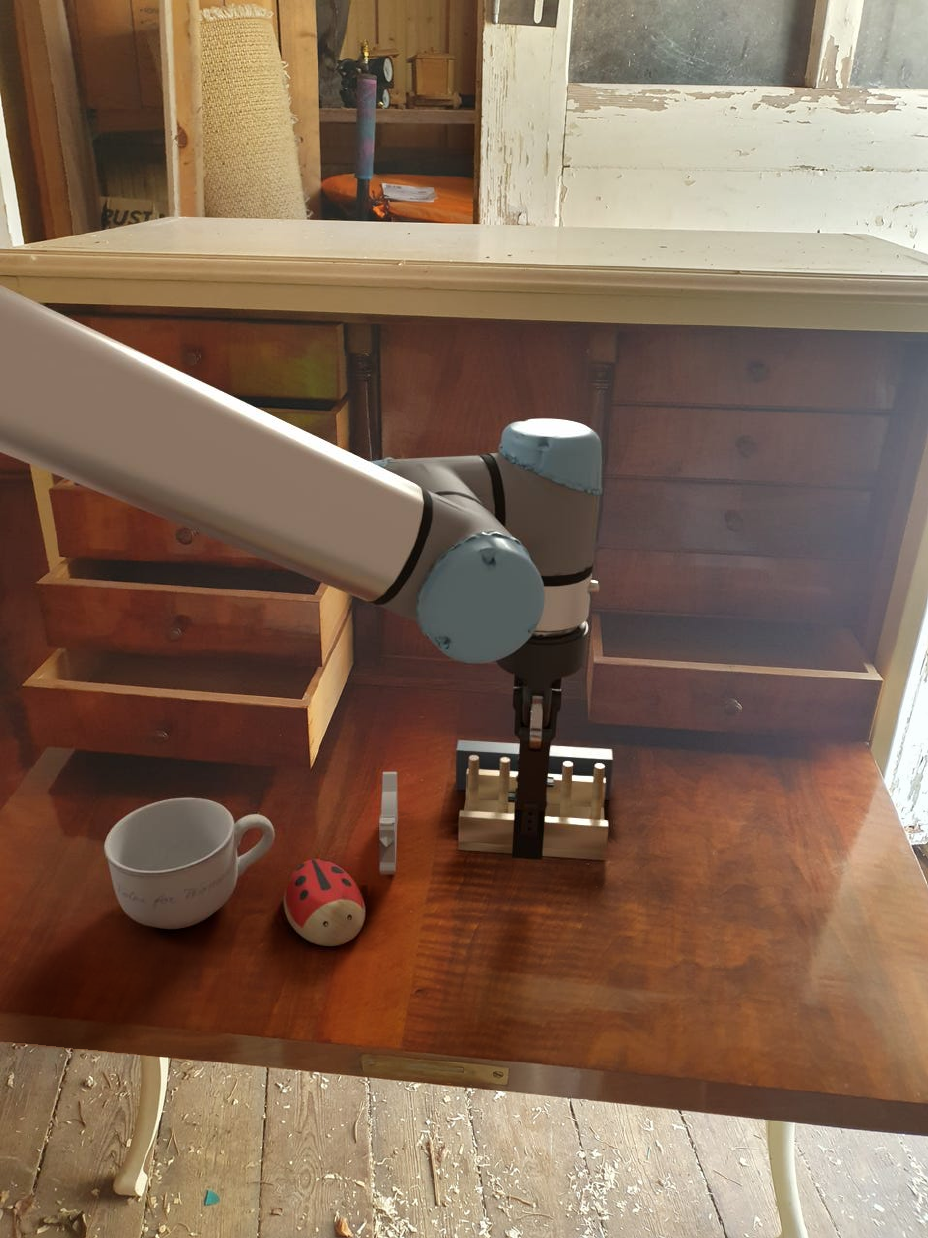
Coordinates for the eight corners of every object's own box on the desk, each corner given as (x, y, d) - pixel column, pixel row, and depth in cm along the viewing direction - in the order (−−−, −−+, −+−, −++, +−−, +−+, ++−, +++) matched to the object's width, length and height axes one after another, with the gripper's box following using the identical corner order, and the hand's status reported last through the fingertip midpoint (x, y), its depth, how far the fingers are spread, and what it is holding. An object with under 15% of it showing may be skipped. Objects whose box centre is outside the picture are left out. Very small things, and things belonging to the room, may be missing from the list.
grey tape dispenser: (397, 818, 97) (394, 885, 88) (384, 819, 97) (379, 885, 88) (397, 770, 94) (393, 834, 85) (382, 770, 94) (378, 834, 85)
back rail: (455, 790, 101) (456, 750, 99) (457, 779, 103) (458, 739, 101) (609, 800, 100) (612, 759, 98) (608, 789, 102) (612, 749, 99)
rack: (458, 850, 92) (459, 781, 89) (466, 800, 100) (467, 734, 96) (605, 861, 91) (611, 791, 88) (602, 809, 98) (608, 743, 95)
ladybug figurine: (307, 962, 79) (304, 929, 78) (269, 889, 87) (266, 858, 85) (381, 935, 82) (380, 903, 81) (339, 867, 90) (337, 836, 88)
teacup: (107, 954, 80) (92, 878, 76) (127, 868, 89) (115, 797, 86) (277, 936, 82) (271, 862, 78) (279, 854, 91) (273, 784, 88)
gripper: (591, 657, 71) (569, 907, 81) (586, 587, 82) (568, 812, 92) (489, 651, 71) (480, 900, 81) (499, 582, 83) (490, 807, 93)
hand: (527, 853), depth 87 cm, fingers closed
